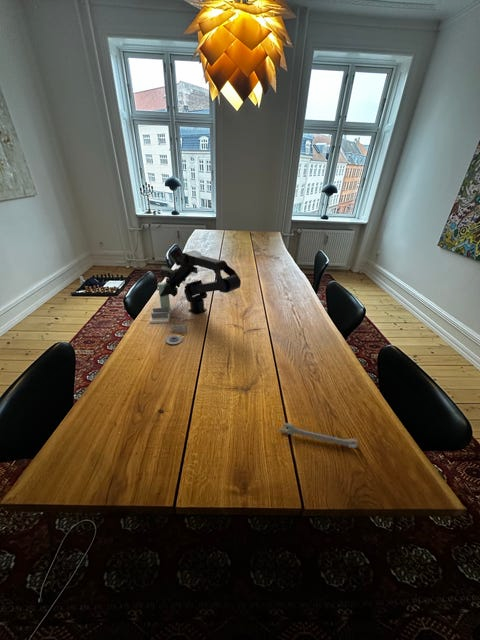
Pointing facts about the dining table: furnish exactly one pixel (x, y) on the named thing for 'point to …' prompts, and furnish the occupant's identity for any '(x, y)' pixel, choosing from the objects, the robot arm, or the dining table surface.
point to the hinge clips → (160, 315)
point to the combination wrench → (318, 436)
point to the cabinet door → (165, 299)
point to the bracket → (177, 339)
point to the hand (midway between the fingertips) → (161, 294)
